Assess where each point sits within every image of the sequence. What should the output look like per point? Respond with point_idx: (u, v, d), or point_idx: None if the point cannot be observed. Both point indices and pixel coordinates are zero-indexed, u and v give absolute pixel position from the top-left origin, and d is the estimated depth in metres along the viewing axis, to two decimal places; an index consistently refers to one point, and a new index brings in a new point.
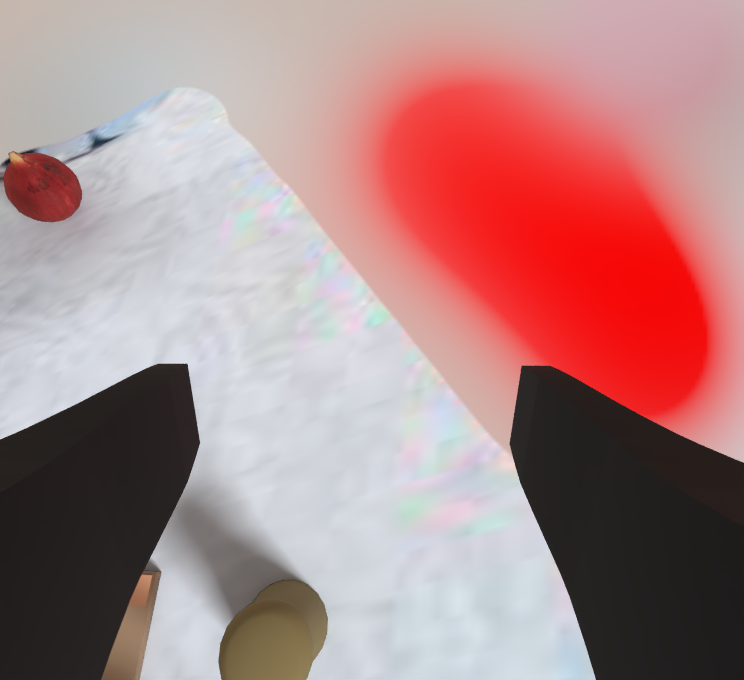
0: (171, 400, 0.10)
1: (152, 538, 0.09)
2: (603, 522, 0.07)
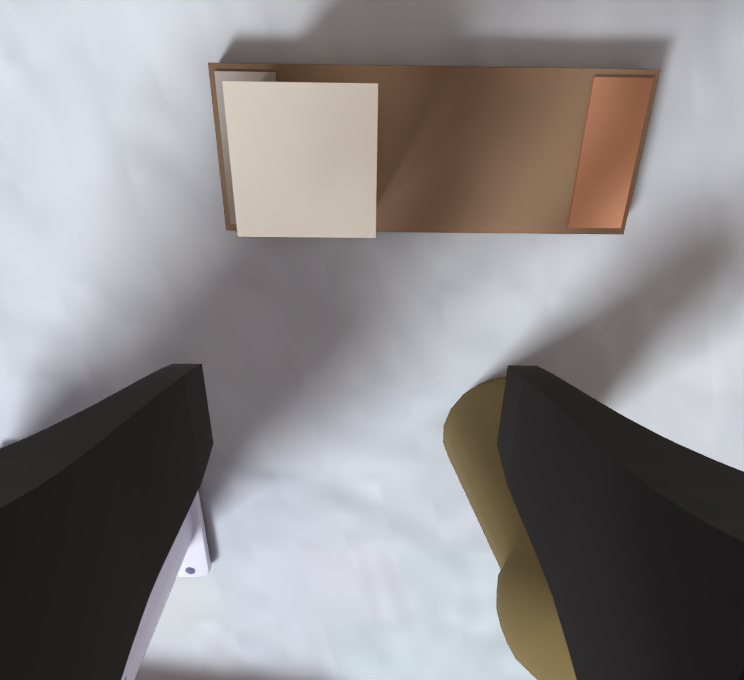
0: (187, 400, 0.10)
1: (169, 538, 0.09)
2: (583, 522, 0.07)
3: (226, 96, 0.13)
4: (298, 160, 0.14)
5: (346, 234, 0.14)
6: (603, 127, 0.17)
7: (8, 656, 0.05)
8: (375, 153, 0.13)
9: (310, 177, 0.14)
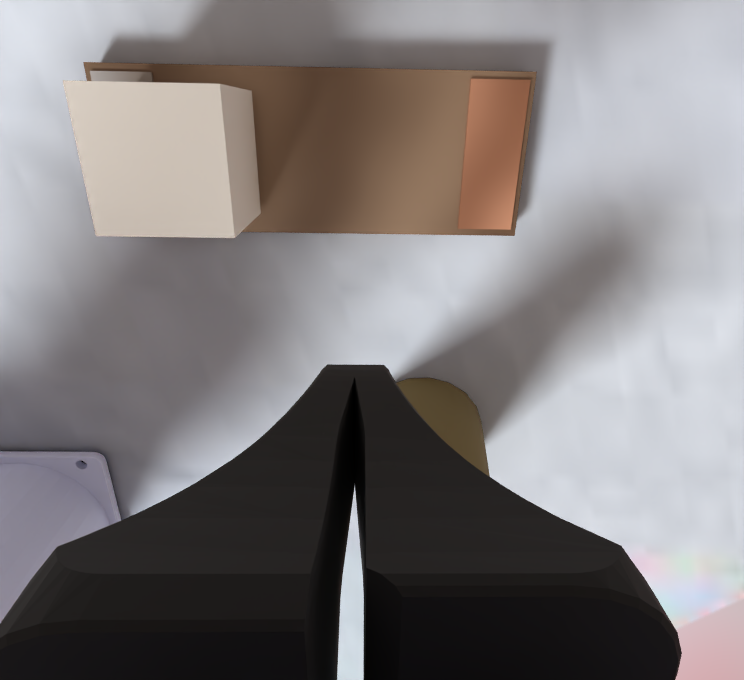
0: (353, 401, 0.10)
1: (346, 538, 0.09)
2: None
3: (68, 95, 0.13)
4: (148, 160, 0.14)
5: (205, 234, 0.14)
6: (485, 129, 0.17)
7: (326, 655, 0.05)
8: (225, 153, 0.13)
9: (163, 177, 0.14)
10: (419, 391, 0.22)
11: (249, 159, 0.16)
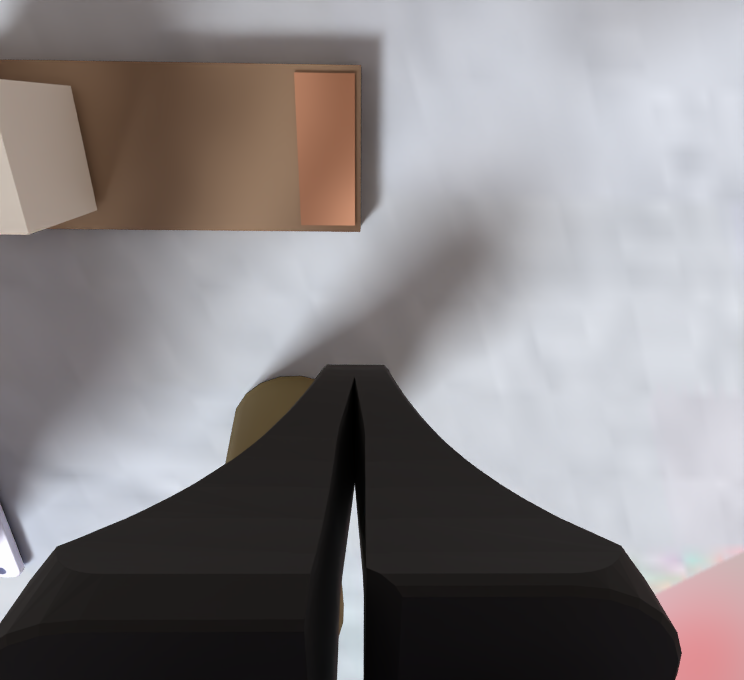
0: (353, 401, 0.10)
1: (345, 538, 0.09)
2: None
3: None
4: None
5: None
6: (316, 123, 0.17)
7: (325, 655, 0.05)
8: (4, 148, 0.13)
9: None
10: (285, 389, 0.21)
11: (66, 155, 0.16)
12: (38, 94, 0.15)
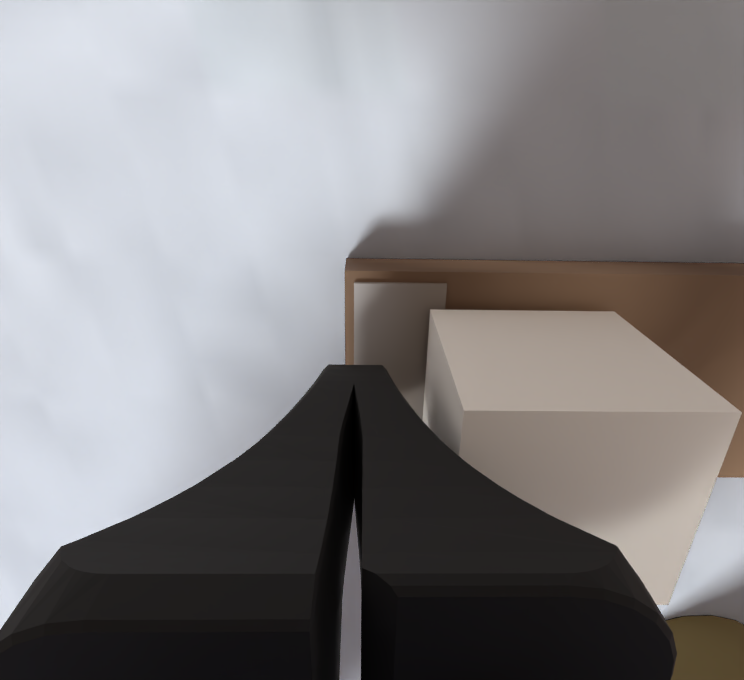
0: None
1: (347, 538, 0.09)
2: None
3: (468, 432, 0.07)
4: (569, 513, 0.08)
5: None
6: None
7: (329, 655, 0.05)
8: (703, 503, 0.08)
9: None
10: (712, 646, 0.16)
11: None
12: None
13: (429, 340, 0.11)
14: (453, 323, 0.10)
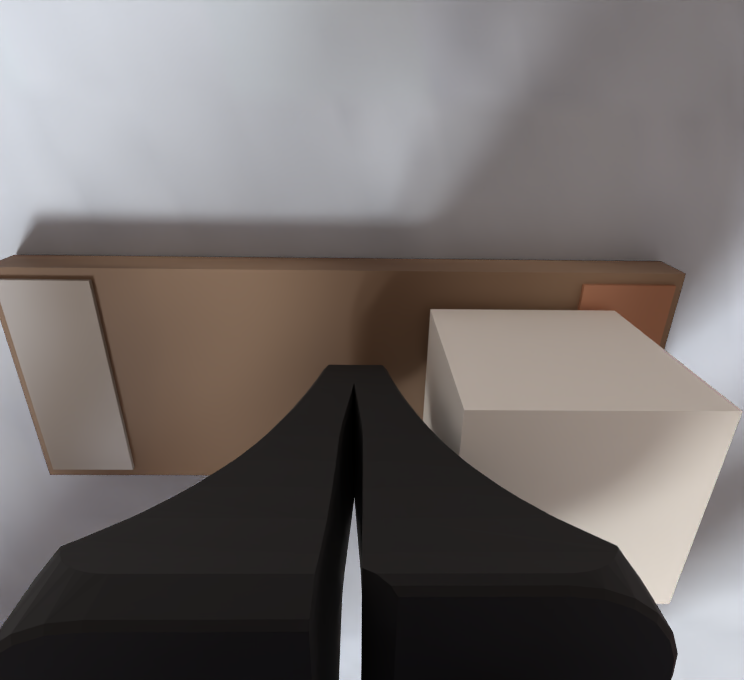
0: None
1: (347, 538, 0.09)
2: None
3: (468, 432, 0.07)
4: (570, 513, 0.08)
5: None
6: None
7: (329, 655, 0.05)
8: (704, 502, 0.08)
9: None
10: None
11: None
12: None
13: (429, 340, 0.11)
14: (453, 323, 0.10)
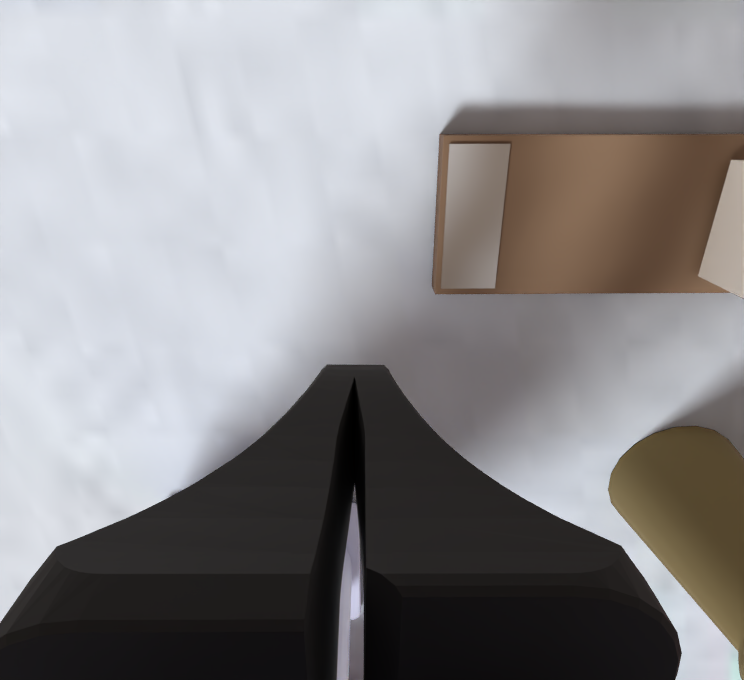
0: (353, 401, 0.10)
1: (346, 538, 0.09)
2: None
3: None
4: None
5: None
6: None
7: (325, 655, 0.05)
8: None
9: None
10: (696, 441, 0.22)
11: None
12: None
13: (730, 180, 0.16)
14: None
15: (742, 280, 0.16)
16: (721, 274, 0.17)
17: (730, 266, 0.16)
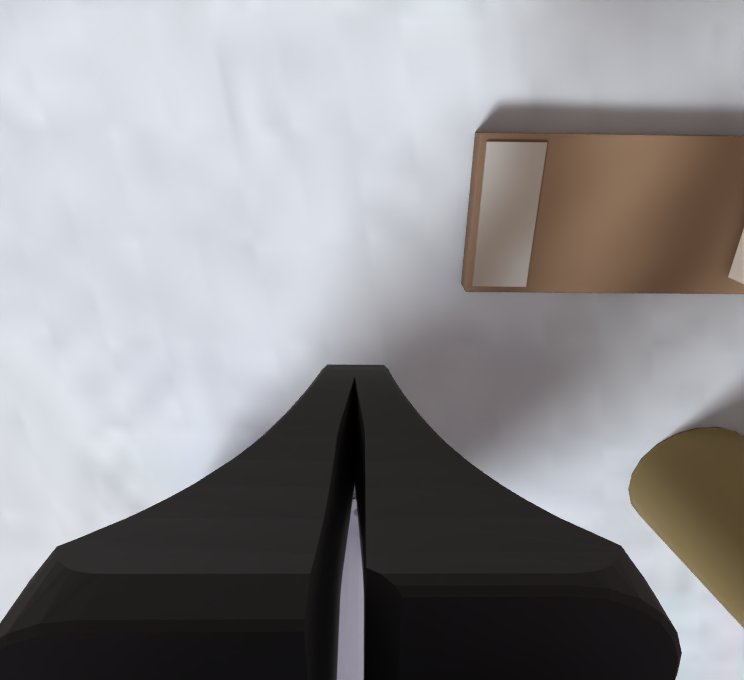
0: (353, 401, 0.10)
1: (345, 538, 0.09)
2: None
3: None
4: None
5: None
6: None
7: (325, 655, 0.05)
8: None
9: None
10: (718, 442, 0.22)
11: None
12: None
13: None
14: None
15: None
16: None
17: None
